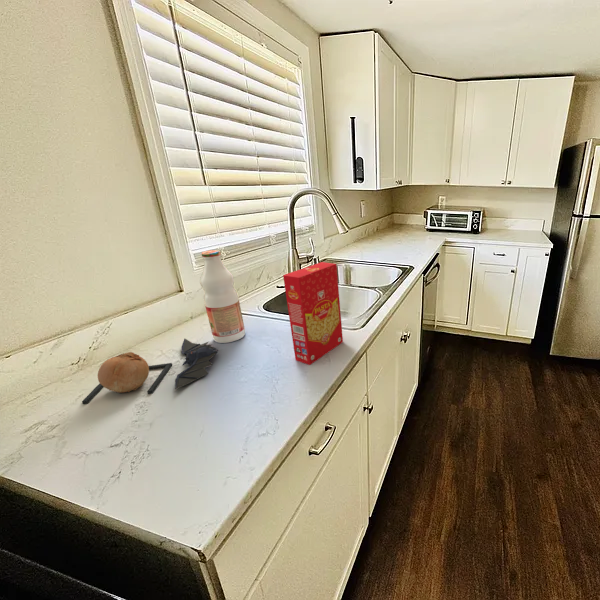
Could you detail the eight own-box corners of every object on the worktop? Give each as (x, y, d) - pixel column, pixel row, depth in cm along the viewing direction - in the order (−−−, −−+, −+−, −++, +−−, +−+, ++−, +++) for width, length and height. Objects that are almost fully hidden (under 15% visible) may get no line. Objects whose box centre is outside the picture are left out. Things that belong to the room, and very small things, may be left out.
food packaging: (309, 365, 89) (298, 277, 80) (295, 360, 91) (283, 275, 82) (343, 342, 101) (336, 263, 92) (329, 338, 103) (322, 261, 94)
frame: (82, 404, 75) (81, 401, 74) (112, 373, 86) (111, 370, 86) (152, 393, 78) (151, 390, 78) (172, 365, 90) (171, 362, 89)
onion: (149, 388, 85) (159, 351, 85) (134, 401, 76) (145, 360, 76) (104, 383, 81) (115, 344, 82) (83, 396, 73) (95, 352, 73)
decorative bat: (216, 368, 80) (169, 383, 76) (221, 382, 81) (175, 397, 77) (216, 323, 104) (180, 333, 100) (220, 335, 106) (184, 344, 102)
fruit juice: (232, 345, 100) (212, 256, 90) (206, 342, 102) (184, 254, 92) (252, 331, 108) (235, 248, 98) (228, 329, 111) (209, 247, 101)
